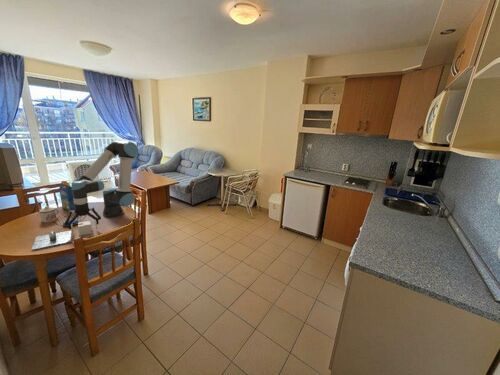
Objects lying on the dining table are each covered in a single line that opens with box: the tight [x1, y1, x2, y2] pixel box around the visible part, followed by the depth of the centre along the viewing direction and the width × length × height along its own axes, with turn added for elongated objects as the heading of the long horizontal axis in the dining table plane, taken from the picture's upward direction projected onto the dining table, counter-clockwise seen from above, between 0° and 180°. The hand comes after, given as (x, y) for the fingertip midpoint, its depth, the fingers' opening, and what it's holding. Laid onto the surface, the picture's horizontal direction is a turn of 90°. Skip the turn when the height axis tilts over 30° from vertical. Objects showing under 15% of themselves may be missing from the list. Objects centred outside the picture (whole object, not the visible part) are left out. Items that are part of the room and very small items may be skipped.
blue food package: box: [58, 180, 75, 212], centre depth 185 cm, size 6×12×25 cm, turn 65°
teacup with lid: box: [38, 205, 59, 223], centre depth 164 cm, size 12×9×12 cm
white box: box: [77, 220, 93, 236], centre depth 150 cm, size 7×7×8 cm
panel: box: [31, 230, 72, 251], centre depth 137 cm, size 18×18×6 cm
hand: (85, 230), depth 150 cm, fingers open, 13 cm apart
